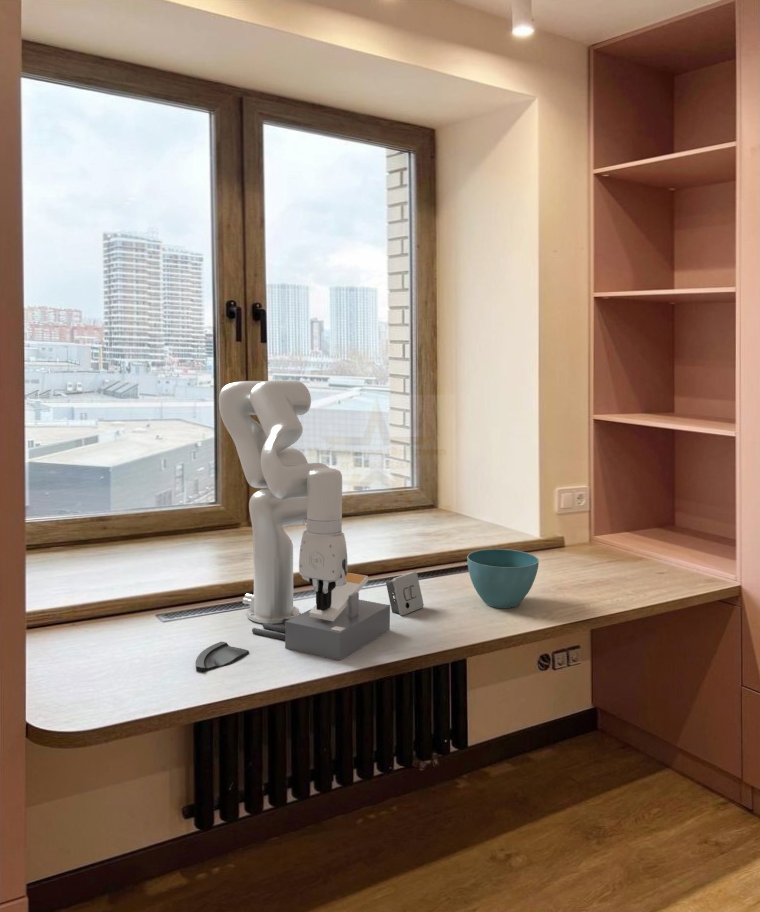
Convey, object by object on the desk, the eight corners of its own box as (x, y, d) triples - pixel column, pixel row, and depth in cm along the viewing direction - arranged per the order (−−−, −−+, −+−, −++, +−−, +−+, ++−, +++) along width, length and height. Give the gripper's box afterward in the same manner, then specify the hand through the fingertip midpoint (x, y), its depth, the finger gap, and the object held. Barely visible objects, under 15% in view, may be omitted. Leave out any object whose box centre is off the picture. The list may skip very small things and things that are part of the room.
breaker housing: (285, 648, 178) (285, 599, 176) (338, 619, 197) (339, 575, 195) (339, 660, 171) (340, 609, 170) (389, 630, 190) (390, 584, 189)
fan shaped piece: (178, 669, 167) (178, 661, 166) (220, 648, 178) (220, 640, 178) (210, 677, 163) (210, 669, 163) (251, 655, 175) (251, 647, 175)
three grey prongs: (250, 633, 187) (250, 628, 186) (277, 620, 195) (277, 616, 195) (294, 643, 181) (294, 638, 180) (319, 629, 189) (320, 624, 189)
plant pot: (543, 615, 203) (545, 567, 201) (470, 614, 202) (471, 566, 201) (529, 593, 221) (531, 549, 219) (462, 592, 220) (463, 548, 219)
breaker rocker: (310, 616, 178) (308, 611, 178) (346, 576, 190) (345, 571, 190) (333, 621, 175) (332, 616, 175) (368, 580, 188) (367, 575, 187)
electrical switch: (402, 617, 200) (400, 579, 199) (385, 614, 203) (383, 577, 202) (424, 608, 207) (422, 572, 207) (408, 605, 210) (406, 570, 210)
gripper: (285, 525, 175) (285, 607, 178) (344, 533, 168) (343, 619, 170) (305, 519, 182) (304, 598, 184) (363, 527, 174) (362, 609, 177)
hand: (323, 608), depth 177 cm, fingers closed
